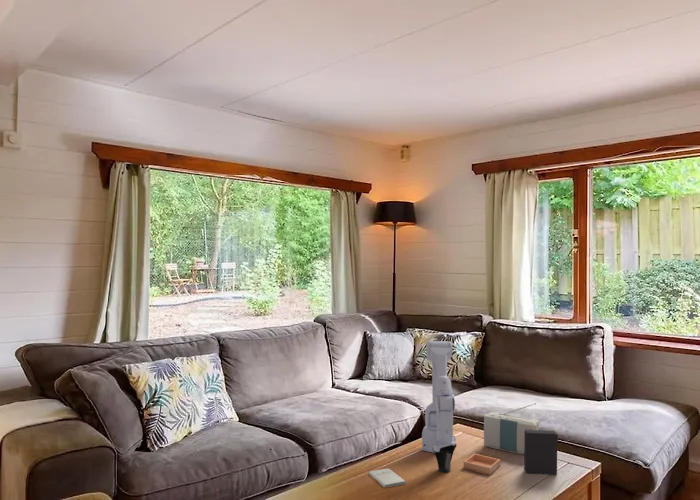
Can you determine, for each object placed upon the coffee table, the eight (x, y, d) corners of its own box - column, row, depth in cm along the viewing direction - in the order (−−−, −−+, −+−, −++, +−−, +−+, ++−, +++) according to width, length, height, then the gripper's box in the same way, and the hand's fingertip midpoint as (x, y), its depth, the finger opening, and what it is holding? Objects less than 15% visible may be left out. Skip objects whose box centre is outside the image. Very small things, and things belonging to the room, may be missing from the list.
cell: (436, 470, 199) (436, 451, 199) (441, 467, 203) (441, 447, 203) (447, 473, 197) (447, 454, 197) (452, 469, 200) (452, 450, 200)
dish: (463, 468, 202) (463, 461, 202) (474, 460, 210) (474, 453, 210) (490, 475, 196) (490, 468, 196) (500, 466, 204) (500, 459, 204)
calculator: (554, 471, 200) (554, 430, 200) (557, 476, 196) (558, 434, 196) (523, 469, 202) (523, 428, 202) (526, 474, 197) (526, 432, 197)
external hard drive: (384, 489, 184) (368, 475, 196) (406, 485, 188) (389, 472, 199) (384, 484, 184) (368, 471, 196) (406, 481, 188) (389, 467, 199)
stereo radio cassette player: (482, 447, 224) (483, 398, 224) (490, 442, 231) (490, 394, 231) (534, 459, 212) (535, 407, 212) (540, 453, 219) (541, 403, 219)
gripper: (446, 436, 192) (446, 474, 192) (463, 425, 204) (462, 462, 204) (428, 432, 196) (427, 470, 196) (445, 422, 208) (445, 458, 208)
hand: (444, 465), depth 200 cm, fingers closed on cell, 4 cm apart
